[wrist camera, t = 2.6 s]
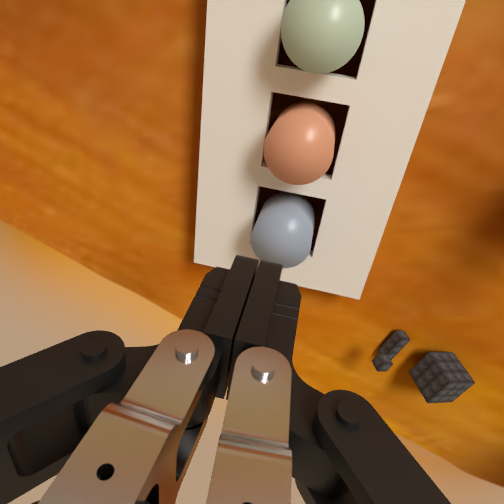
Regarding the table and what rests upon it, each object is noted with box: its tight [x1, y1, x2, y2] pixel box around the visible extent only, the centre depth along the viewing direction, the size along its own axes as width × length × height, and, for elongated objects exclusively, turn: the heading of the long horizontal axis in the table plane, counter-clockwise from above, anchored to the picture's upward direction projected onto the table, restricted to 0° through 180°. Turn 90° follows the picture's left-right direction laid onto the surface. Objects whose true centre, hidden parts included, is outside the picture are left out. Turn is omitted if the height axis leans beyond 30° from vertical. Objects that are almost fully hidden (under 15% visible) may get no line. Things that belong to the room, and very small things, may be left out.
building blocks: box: [372, 330, 475, 403], centre depth 36 cm, size 3×6×8 cm
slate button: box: [251, 192, 315, 268], centre depth 29 cm, size 4×4×4 cm
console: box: [194, 0, 466, 299], centre depth 28 cm, size 14×24×3 cm, turn 173°
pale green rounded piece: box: [281, 0, 365, 74], centre depth 22 cm, size 4×4×4 cm
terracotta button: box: [264, 101, 335, 185], centre depth 26 cm, size 4×4×4 cm
